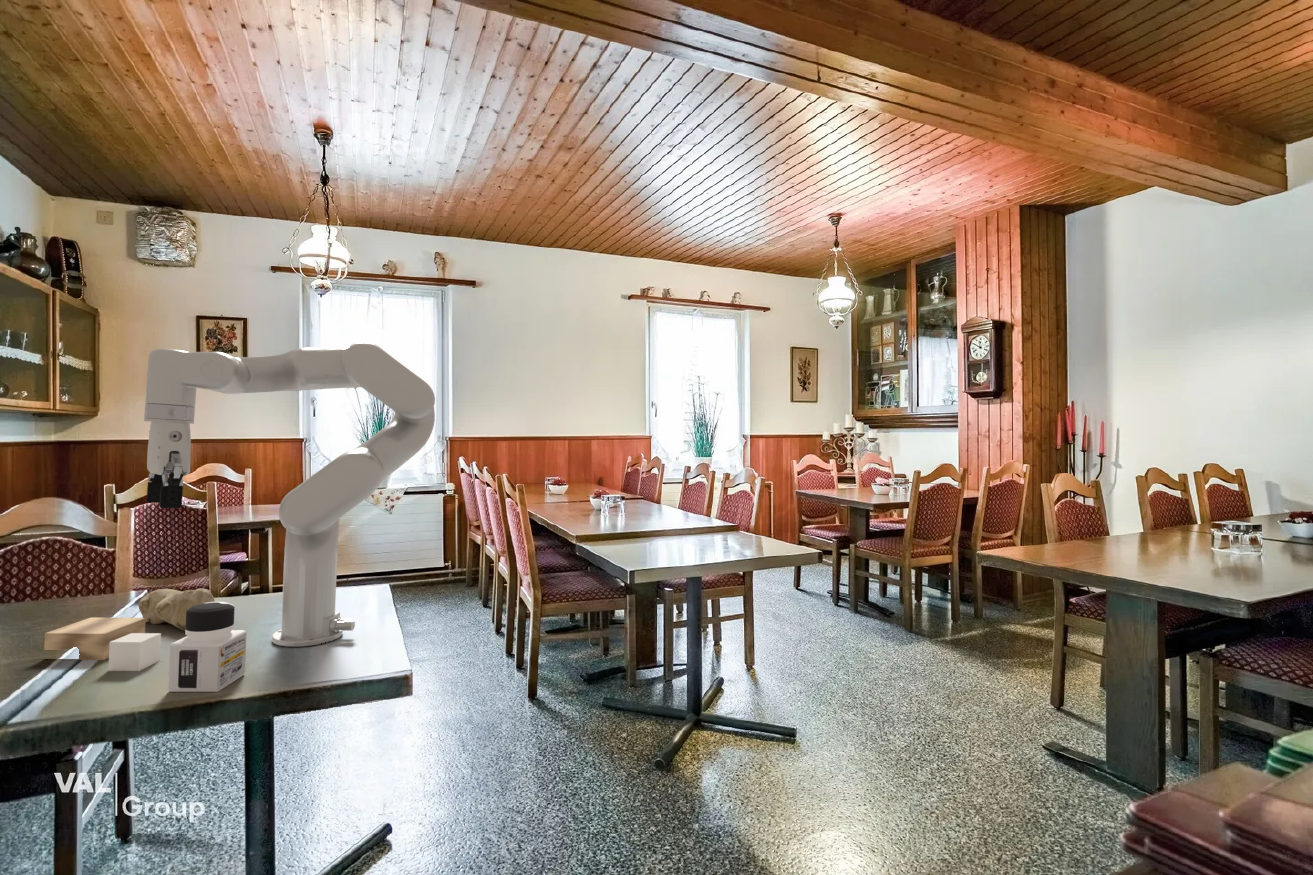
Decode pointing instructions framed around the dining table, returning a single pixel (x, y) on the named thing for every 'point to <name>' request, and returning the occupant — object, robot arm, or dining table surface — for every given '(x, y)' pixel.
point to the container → (207, 650)
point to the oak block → (92, 635)
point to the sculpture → (172, 605)
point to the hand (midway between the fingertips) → (163, 505)
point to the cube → (134, 651)
